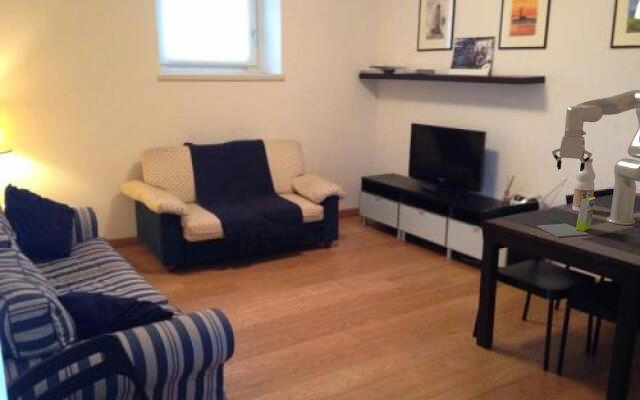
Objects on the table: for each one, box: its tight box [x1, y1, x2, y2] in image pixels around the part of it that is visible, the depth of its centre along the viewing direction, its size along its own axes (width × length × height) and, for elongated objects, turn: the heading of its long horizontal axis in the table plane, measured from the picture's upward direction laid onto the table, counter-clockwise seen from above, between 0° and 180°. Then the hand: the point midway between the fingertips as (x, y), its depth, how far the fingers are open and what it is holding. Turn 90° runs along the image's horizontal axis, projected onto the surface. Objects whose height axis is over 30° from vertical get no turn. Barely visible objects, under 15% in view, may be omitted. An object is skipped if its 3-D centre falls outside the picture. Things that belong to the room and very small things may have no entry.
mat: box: [536, 223, 590, 238], centre depth 259 cm, size 16×17×1 cm
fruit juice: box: [571, 157, 596, 213], centre depth 290 cm, size 9×9×28 cm
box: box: [575, 192, 597, 232], centre depth 258 cm, size 10×4×17 cm, turn 139°
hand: (570, 170), depth 256 cm, fingers open, 9 cm apart
